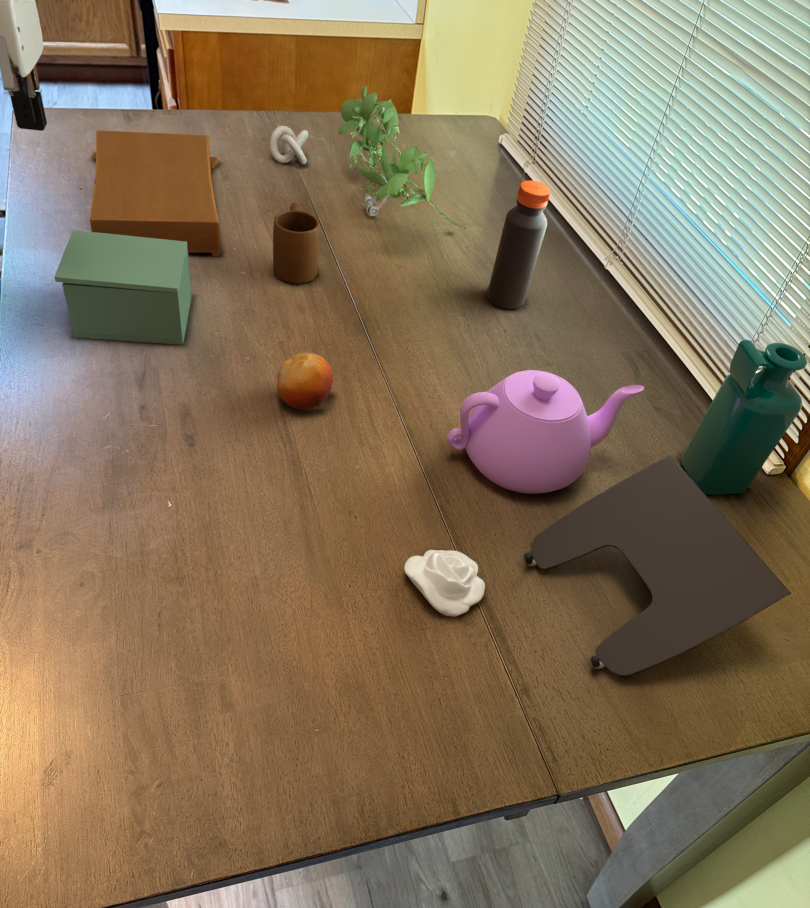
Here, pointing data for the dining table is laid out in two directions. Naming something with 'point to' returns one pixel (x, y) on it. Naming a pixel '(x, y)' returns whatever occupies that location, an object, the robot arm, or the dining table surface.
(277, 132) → the knot
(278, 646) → the dining table surface
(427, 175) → the plant cuttings
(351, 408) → the dining table surface
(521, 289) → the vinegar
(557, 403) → the teapot
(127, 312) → the chest
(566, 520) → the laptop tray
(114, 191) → the wooden box
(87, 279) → the lid
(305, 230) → the mug
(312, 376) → the fruit
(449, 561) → the rose
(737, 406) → the dark green tall bottle
